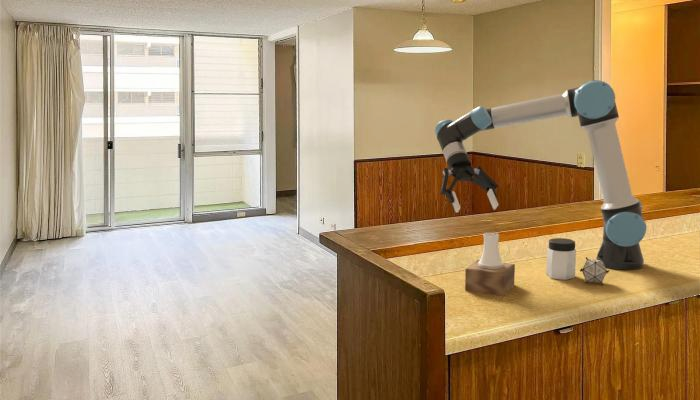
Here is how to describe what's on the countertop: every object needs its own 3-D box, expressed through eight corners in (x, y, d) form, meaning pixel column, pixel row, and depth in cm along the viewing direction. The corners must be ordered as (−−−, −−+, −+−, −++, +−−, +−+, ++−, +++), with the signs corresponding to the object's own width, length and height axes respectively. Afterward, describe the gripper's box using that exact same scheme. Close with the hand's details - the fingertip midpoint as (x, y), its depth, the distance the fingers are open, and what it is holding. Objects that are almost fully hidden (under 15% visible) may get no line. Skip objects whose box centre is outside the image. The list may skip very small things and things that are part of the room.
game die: (596, 293, 190) (615, 267, 190) (598, 291, 182) (618, 265, 182) (571, 276, 193) (590, 251, 193) (572, 274, 186) (591, 248, 185)
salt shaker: (506, 268, 182) (507, 236, 180) (483, 269, 181) (483, 237, 179) (498, 261, 189) (498, 231, 188) (475, 263, 188) (475, 232, 187)
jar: (562, 281, 190) (563, 245, 188) (541, 275, 197) (542, 240, 195) (579, 276, 195) (581, 241, 193) (558, 271, 202) (560, 236, 200)
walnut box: (514, 285, 188) (514, 263, 187) (503, 296, 178) (504, 273, 177) (477, 280, 194) (477, 259, 193) (465, 291, 184) (465, 268, 182)
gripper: (485, 163, 211) (507, 212, 199) (420, 167, 204) (438, 218, 192) (493, 149, 205) (516, 199, 193) (426, 152, 198) (445, 204, 186)
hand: (477, 208), depth 193 cm, fingers open, 13 cm apart
